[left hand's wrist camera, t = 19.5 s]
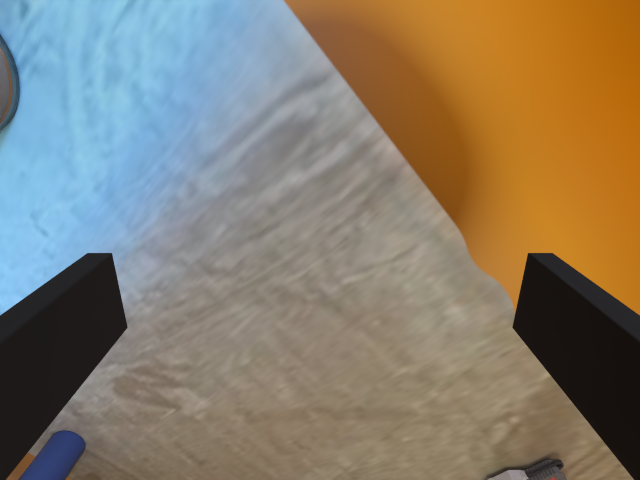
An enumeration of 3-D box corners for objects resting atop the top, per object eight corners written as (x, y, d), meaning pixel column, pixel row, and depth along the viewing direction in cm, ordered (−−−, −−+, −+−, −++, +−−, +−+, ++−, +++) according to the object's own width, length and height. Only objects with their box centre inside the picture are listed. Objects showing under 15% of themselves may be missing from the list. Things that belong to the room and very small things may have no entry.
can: (88, 436, 64) (40, 509, 53) (82, 459, 66) (33, 534, 55) (53, 426, 63) (-3, 498, 52) (48, 449, 65) (-8, 524, 54)
